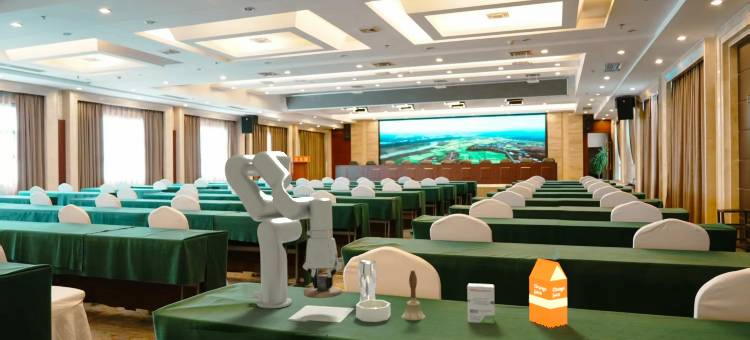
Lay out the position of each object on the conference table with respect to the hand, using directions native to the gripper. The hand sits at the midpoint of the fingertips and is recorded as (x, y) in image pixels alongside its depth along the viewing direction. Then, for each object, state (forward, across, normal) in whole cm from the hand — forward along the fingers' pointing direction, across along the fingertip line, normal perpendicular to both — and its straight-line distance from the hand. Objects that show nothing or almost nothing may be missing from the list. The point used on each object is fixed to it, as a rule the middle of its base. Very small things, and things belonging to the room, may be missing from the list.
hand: (322, 287), depth 176 cm
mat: (+9, 0, 0) cm, 10 cm away
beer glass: (+10, +10, +19) cm, 24 cm away
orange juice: (+11, +74, +8) cm, 75 cm away
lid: (+2, 0, 0) cm, 2 cm away
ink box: (+10, +52, +5) cm, 54 cm away
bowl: (+10, +18, 0) cm, 20 cm away
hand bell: (+10, +30, +3) cm, 32 cm away
